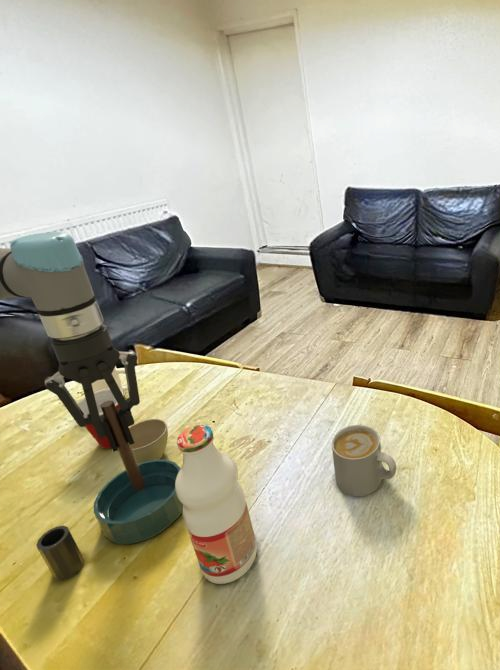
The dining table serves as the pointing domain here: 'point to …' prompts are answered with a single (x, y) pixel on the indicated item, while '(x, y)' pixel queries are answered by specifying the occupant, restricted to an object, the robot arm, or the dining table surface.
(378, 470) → the coffee mug
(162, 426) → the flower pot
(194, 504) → the fruit juice
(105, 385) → the mug
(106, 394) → the plastic cup
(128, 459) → the stick
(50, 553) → the utensil pot
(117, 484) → the bowl
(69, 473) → the dining table surface
